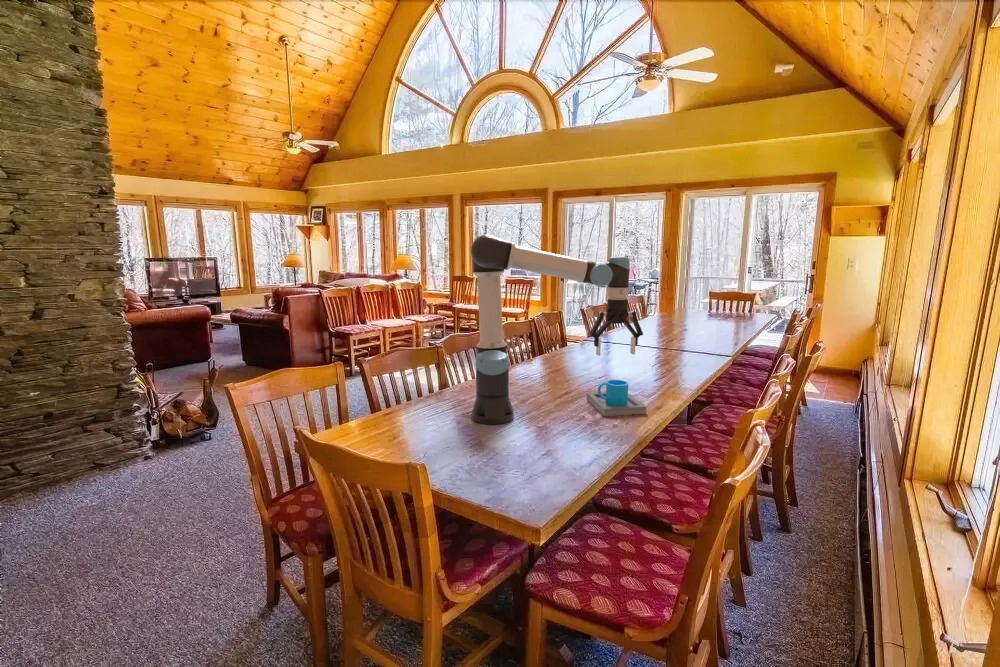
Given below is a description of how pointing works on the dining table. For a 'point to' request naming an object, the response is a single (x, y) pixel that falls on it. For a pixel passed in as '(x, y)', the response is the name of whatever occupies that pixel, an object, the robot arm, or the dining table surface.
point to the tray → (607, 410)
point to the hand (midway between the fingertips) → (615, 354)
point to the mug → (615, 393)
